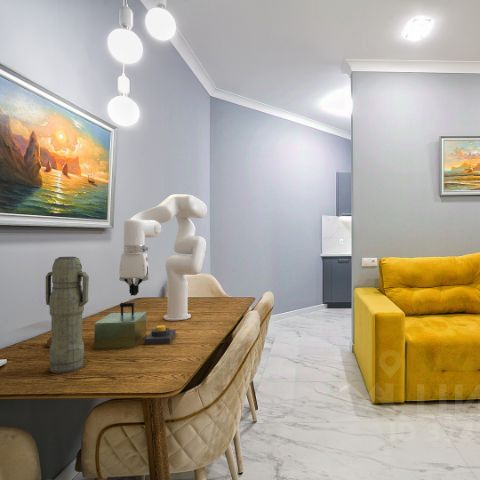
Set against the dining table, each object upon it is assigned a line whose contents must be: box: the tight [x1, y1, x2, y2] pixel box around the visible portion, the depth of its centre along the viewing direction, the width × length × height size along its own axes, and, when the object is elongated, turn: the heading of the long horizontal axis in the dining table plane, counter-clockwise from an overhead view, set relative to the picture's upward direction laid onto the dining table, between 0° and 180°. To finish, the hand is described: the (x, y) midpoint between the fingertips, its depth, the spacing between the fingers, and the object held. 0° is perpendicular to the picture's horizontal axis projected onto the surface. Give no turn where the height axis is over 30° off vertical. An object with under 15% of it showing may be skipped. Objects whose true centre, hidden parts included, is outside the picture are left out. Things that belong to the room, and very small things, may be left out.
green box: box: [93, 314, 147, 350], centre depth 137 cm, size 16×14×9 cm
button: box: [155, 324, 167, 331], centre depth 141 cm, size 4×4×2 cm
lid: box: [93, 301, 148, 326], centre depth 137 cm, size 16×14×5 cm
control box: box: [144, 327, 177, 346], centre depth 141 cm, size 12×9×4 cm
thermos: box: [45, 256, 90, 374], centre depth 111 cm, size 9×12×35 cm
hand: (134, 294), depth 143 cm, fingers closed
